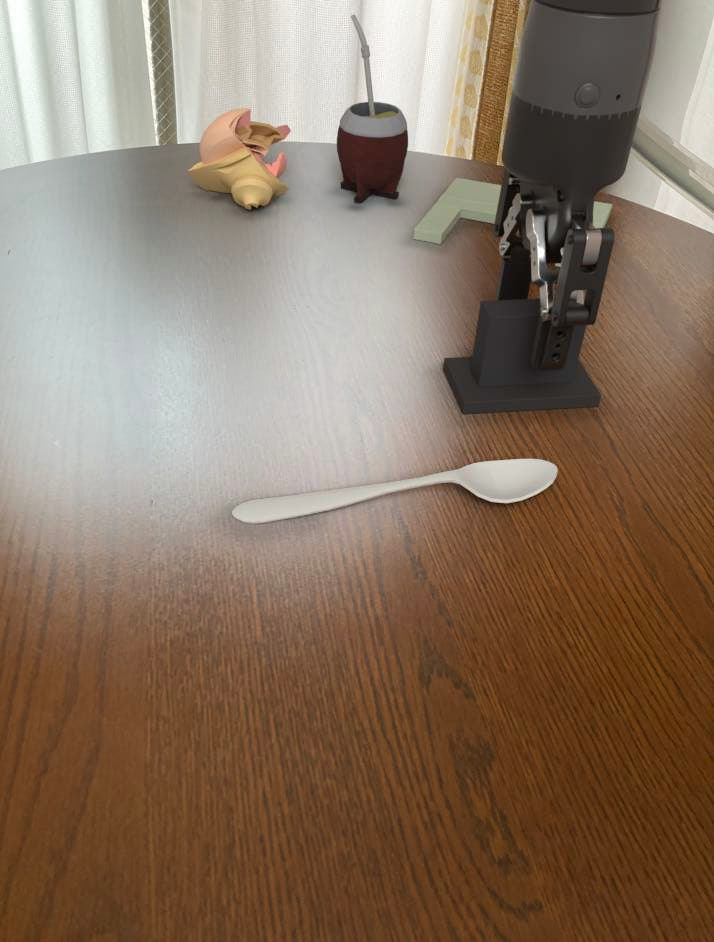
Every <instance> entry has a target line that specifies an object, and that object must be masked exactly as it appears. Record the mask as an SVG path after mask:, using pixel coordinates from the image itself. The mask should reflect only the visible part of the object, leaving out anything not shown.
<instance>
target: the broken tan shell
mask: <svg viewBox="0 0 714 942" xmlns="http://www.w3.org/2000/svg"><path fill="white" fill-rule="evenodd" d="M251 112H252V109H251V108H250V107H249V108H248V107H241V108H234V109H231V110H228V111H226V112H224V113H222V114H220V115H219V116H218V117H216V118H215V119H214V120H213V121H211V122H210V124H209V125H208V126H207V127H206V129H205V130H204V131H203V133H202V135H201V137H200V142H199V156H200V160H201V161H199V162H197V163H195V164H194V165H193V166H192V167H191V168H189V169H188V170H187V172H188V173H189V176H190V177H191V178H192V180H193V181H194V182H195V183H196V184H197V185H198V187H200V188H201V189H202V190H204V191H212V192H217V193H224V194H231V195H232V198H233V201H235V203H236V204H237V205H239V206H241V207H243V208H244V209H246V210H252V207H255V208H256V209H257V208H258V207H259V206H262V207H265V206H267V205H268V204H269V203H270V201H271V200H272V197H273V195H275V196H277V197H278V196H281V195H283V194H285V193H286V192H287V191H289V187H288V186H286V184H285V183H284V182H282V181H281V180H280V179H279V178H280V177H281V176H282V175H283V174H284V172H285V171H286V170H287V169H286V168H287V166H288V165H287V164H288V161H287V160H288V159H287V157H286V154H285V153H284V152H283V151H282V152H279V154H278V156H277V159H276V160H275V161H272V164H270V163H265V162H264V161H263V159H262V158H261V156H262V157H264V158H265V157H266V156H267V154H268V152H269V149H270V147H271V146H272V145H274V144H277V143H279V142H281V141H284V140H285V139H286V138H287V137H288V135H290V133H291V132H292V130H291V128H290V127H289V126H288V124H282V125H278V126H273V125H272V124H270V123H266V122H265V123H264V122H259V121H253V120H251Z"/></svg>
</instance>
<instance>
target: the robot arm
mask: <svg viewBox="0 0 714 942" xmlns="http://www.w3.org/2000/svg"><path fill="white" fill-rule="evenodd" d="M529 3H530V4H529V7H528V11H527V15H526V19H525V23H524V26H523V29H522V33H521V36H520V41H519V45H518V46H519V47H518V50H517V57H516V63H515V69H514V76H513V81H512V87H511V95H510V101H509V108H508V112H507V119H506V125H505V132H504V138H503V144H502V149H501V162H502V165H503V166H504V170H503V174H502V175H503V176H502V181H501V185H502V186H501V191H500V196H499V202H498V207H497V212H496V218H495V223H494V224H493V228H492V229H493V235H494V237H495V238H497V237H498V238H500V241H499V244H498V251H499V255H500V256H501V257H502V258H501V262H500V263H501V264H500V269H499V274H498V279H497V286H496V291H495V297H494V300H517V299H529V293H530V289H531V283H533V284H534V285H535V286H537V287H538V288H539V299H540V316H539V320H538V324H537V329H536V334H535V339H534V343H533V348H532V353H531V357H530V363H531V365H532V367H533V368H534V370H536V371H552V370H560V369H561V368H563V367H564V365H565V362H566V358H567V354H568V350H569V346H570V342H571V338H572V333H573V329H574V326H578V325H587V326H593V325H595V323H596V321H597V317H598V313H599V309H600V304H601V300H602V295H603V291H604V286H605V282H606V278H607V273H608V269H609V266H610V260H611V256H612V251H613V247H614V243H615V231H614V229H613V228H612V227H604V228H595V227H594V226H593V208H594V201H595V197H596V195H598V193H599V192H600V191H601V190H603V189H604V188H606V187H608V186H611V185H614V184H615V183H616V182H618V181H619V180H620V179H621V178H622V177H623V176H624V174H625V172H626V170H627V165H628V161H629V157H630V154H631V150H632V146H633V142H634V138H635V133H636V130H637V126H638V121H639V118H640V114H641V110H642V106H643V101H644V98H645V94H646V90H647V86H648V82H649V79H650V75H651V74H650V73H651V71H652V66H653V63H654V59H655V54H656V46H657V40H658V31H659V24H660V23H659V22H660V17H661V12H662V5H663V4H664V0H530V2H529ZM511 207H513V208H512V209H511V211H510V213H509V209H510V208H511ZM508 213H509V215H508ZM558 263H561V267H559V268H551V267H549V266H548V265H555V264H558ZM554 285H556V289H555V288H554V287H555V286H554ZM554 289H555V291H554ZM584 291H585V292H584Z"/></svg>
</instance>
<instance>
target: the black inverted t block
mask: <svg viewBox="0 0 714 942" xmlns="http://www.w3.org/2000/svg"><path fill="white" fill-rule="evenodd" d="M539 316H540V298H528V299H517V300H495V299H494V300H481V301H480V304H479V311H478V318H477V324H476V331H475V336H474V342H473V349H472V355H471V356H459V357H458V356H456V357H455V356H454V357H444V359H443V364H442V365H443V366H442V371H443V373H444V375H445V377H446V380H447V382H448V385H449V386H450V389H451V391H452V394H453V396H454V399H455V400H456V402H457V405H458V407H459V410H460V412H461V413H462V415H469V414H470V415H472V414H491V413H492V414H493V413H509V412H510V413H511V412H527V411H543V410H544V411H545V410H561V409H578V408H579V409H580V408H597V407H599V406H600V402H601V399H602V394H601V392H600V391H599V389H598V387H597V386H596V384H595V382H594V381H593V379H592V378H591V376H590V375H589V374H588V372H587V370H586V369H585V367H584V366H583V364H582V363H581V361H580V360H579V358H580V355H581V350H582V346H583V342H584V337H585V334H586V330H587V326H588V325H578V326H574V329H573V333H572V338H571V342H570V346H569V350H568V354H567V358H566V362H565V365H564V367H563V368H561V369H560V370H552V371H536V370H534V368H533V367H532V365H531V363H530V357H531V353H532V348H533V343H534V339H535V334H536V329H537V324H538V320H539Z"/></svg>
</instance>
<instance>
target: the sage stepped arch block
mask: <svg viewBox="0 0 714 942" xmlns="http://www.w3.org/2000/svg"><path fill="white" fill-rule="evenodd" d="M501 186H502V184H495V183H490V182H485V181H479V180H478V181H477V180H472V179H466V178H461V177H455V179H453V180H452V182H451V183H450V184H449V186H448V187H447V188H446V190H445V191H443V192H442V194H441V196H439V198H437V200H436V201H435V203H434V204H433V205H432V206H431V207H430V209H429V210H428V211H427V213H426V214H425V215H424V216H423V217H422V219H420V221H419V222H418V223H417V225H416V226H415V227H414V229H413V235H412V236H413V237H412V239H413V240H416V241H417V240H418V241H422V242H427V243H432V244H437V245H441V244H442V243H443V242H444V240H445V239H446V238H447V236H449V233H451V231H452V230H453V229H454V227H455V226H456V224H457V223H458V221H459V220H460V219H464V220H465V219H466V220H471V221H476V222H480V223H481V222H482V223H488V224H493V225H494V223H495V218H496V212H497V207H498V202H499V196H500V191H501ZM512 208H513V207H511V208H510V209H509V213H510V211H511V209H512ZM612 209H613V204H612V203H608V202H603V201H602V202H601V201H596V200H594V208H593V226H594V227H595V228H606V225H607V222H608V220H609V218H610V216H611V213H612ZM509 213H508V215H509ZM554 267H558V268H560V267H561V263H558V264H554Z"/></svg>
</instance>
